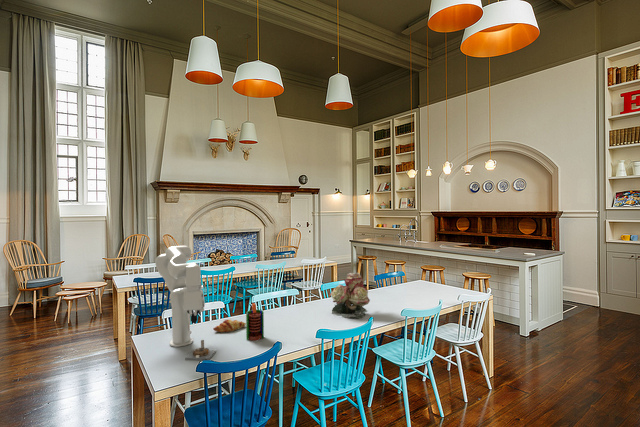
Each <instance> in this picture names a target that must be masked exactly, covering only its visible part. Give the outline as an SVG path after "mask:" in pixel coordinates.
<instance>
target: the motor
mask: <svg viewBox="0 0 640 427" xmlns="http://www.w3.org/2000/svg"><path fill="white" fill-rule="evenodd" d="M251 308H252V309H251V310H248V311H246V312H245V318H246V319H245V321H246V322H245V323H246V326H245V327H246V328H245V329H246V336H245V337H246V338H245V339H246V341H256V342H257V341H259V340H262V339H265V337H264V336H265V333H264V332H265V330H264V327H265V326H264V322H265V320H264V319H265V318H264V311H263V310H262V309H257V305H256V303H251Z"/></svg>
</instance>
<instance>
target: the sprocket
mask: <svg viewBox="0 0 640 427" xmlns="http://www.w3.org/2000/svg"><path fill="white" fill-rule="evenodd" d="M193 350H194V351H193ZM193 350H192V351H193V355H194V356H195V357H196V355H199V356H201V357H202V356H203V355H207V354H208V353H209V350H210V349H209V348H208V347H205V340H204V339H201V340H200V347H198V348H196V349H193Z"/></svg>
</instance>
